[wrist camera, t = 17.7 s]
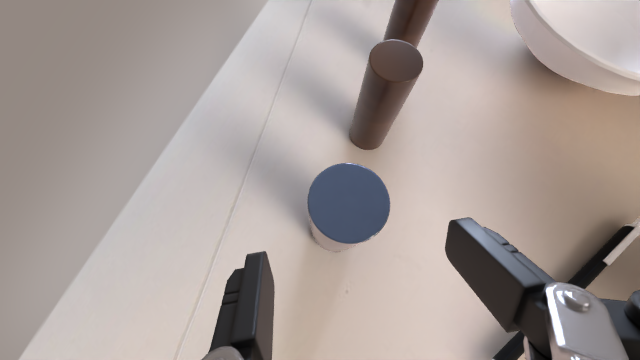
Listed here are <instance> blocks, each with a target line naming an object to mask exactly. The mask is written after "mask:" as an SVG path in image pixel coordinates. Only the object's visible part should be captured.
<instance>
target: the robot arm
mask: <svg viewBox="0 0 640 360" xmlns="http://www.w3.org/2000/svg"><path fill="white" fill-rule="evenodd" d="M445 251H446V255H447V258H448V259H449V261H450V262H451V264H452V265H453V266H454V267H455V269H456V270H457V271H458V272H459V274H460V275H461V276H462V277H463V279H464V280H465V281H466V282H467V284H468V285H469V286H470V287H471V289H472V290H473V291H474V292H475V293H476V295H477V296H478V297H479V298H480V300H481V301H482V302H483V303H484V305H485V306H486V307H487V308H488V310H489V311H490V312H491V313H492V315H493V316H494V317H495V318H496V320H497V321H498V322H499V323H500V324H501V326H502V327H503V328H504V329H505V331H506V332H507V333H509V332H514V331H519V330H521V332H522V333H523V334H524V335H525V337H524V351H525V359H526V360H640V290H637V291H635V292H633V294H632V295H631V296H630V298H629V299H628V301H620V300H610V299H600V298H597V297H596V296H594V295H593V294H591V293H590V292H588V291H586V290H585V289H582V288H580V287H578V286H575V285H572V284H568V283H562V282H556V281H555V280H554V279H552V278H551V277H550V276H549V275H548V274H546V273H545V272H544V271H543V270H542V269H540V268H539V267H538V266H537V265H536V264H534V263H533V262H532V261H531V260H529V259H528V258H527V257H526V256H525V255H523V254H522V253H521V252H518V250H517V249H516V248H515V247H514V246H513V245H510V244H509V242H508V241H507V240H505V239H504V238H503V237H502V236H501V235H499V234H498V233H496V232H494V231H492V230H490V229H488V228H486V227H481V226H480V225H479V224H478V223H477V222H476V221H474V220H473V219H472V218H469V217H467V218H461V219H456V220H451V221H450V222H449V226H448V232H447V239H446V245H445ZM273 316H274V280H273V275H272V272H271V268H270V264H269V260H268V257H267V253H266V252H265V251H264V252H258V253H252V254H247V256H246V260H245V266H244V268H241V269H235V270H234V272H233V273H232V275H231V276H230V278H229V279H228V280H227V284H226V288H225V292H224V296H223V300H222V306H221V308H220V312H219V316H218V319H217V323H216V327H215V331H214V335H213V339H212V343H211V347H210V350H209V352H208V354H207V355H206V356H205V357H204V358H203V359H202V360H272V340H273Z"/></svg>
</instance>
